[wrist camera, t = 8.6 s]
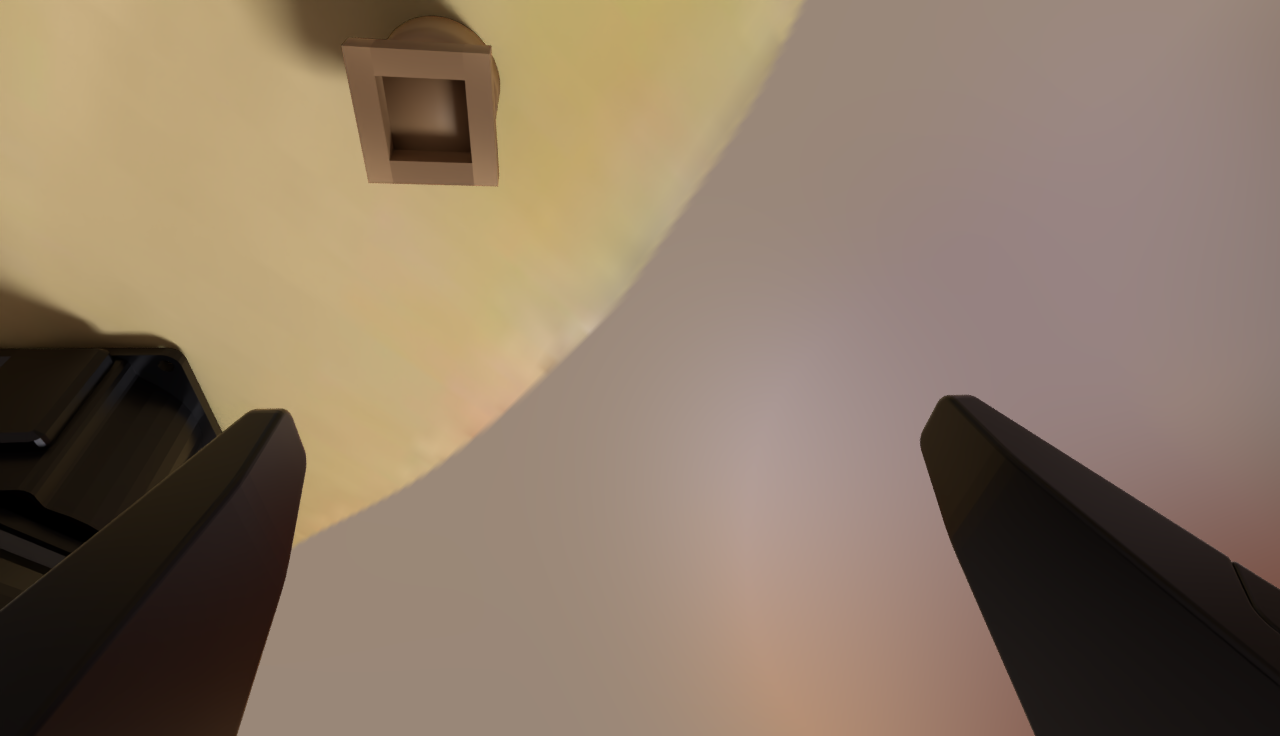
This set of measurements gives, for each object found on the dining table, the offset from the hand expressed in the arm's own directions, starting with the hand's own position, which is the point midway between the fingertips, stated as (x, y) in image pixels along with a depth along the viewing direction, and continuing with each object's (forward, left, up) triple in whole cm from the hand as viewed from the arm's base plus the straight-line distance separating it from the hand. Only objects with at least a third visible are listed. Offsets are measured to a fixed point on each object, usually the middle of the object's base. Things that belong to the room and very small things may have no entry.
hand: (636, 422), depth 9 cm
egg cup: (0, +4, -13) cm, 14 cm away
